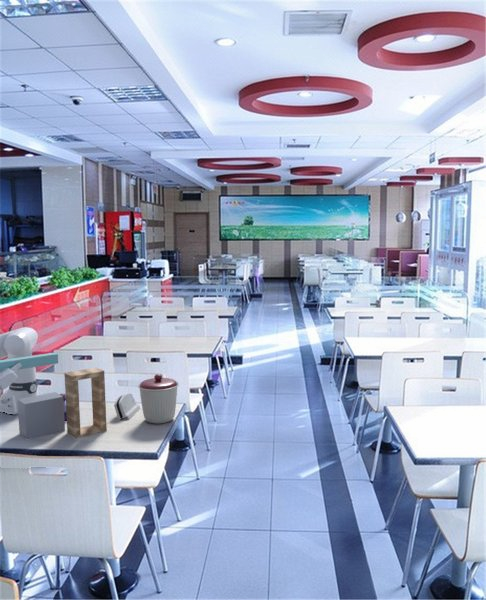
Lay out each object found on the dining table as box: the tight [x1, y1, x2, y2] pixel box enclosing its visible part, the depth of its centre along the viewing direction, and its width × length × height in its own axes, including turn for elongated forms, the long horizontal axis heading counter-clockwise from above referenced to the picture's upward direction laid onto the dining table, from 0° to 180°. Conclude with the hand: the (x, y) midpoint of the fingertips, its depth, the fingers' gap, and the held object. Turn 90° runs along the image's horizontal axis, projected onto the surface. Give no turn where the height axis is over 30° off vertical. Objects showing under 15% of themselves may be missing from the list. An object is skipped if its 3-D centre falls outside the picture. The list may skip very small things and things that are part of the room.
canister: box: [137, 373, 180, 425], centre depth 246 cm, size 18×18×21 cm
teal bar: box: [0, 352, 59, 372], centre depth 227 cm, size 24×4×4 cm, turn 130°
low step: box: [17, 391, 66, 441], centre depth 232 cm, size 16×9×15 cm, turn 130°
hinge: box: [113, 393, 141, 420], centre depth 257 cm, size 17×5×10 cm, turn 172°
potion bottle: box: [59, 393, 67, 422], centre depth 248 cm, size 9×9×12 cm
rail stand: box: [63, 367, 108, 439], centre depth 232 cm, size 14×8×26 cm, turn 130°
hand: (18, 362), depth 224 cm, fingers closed on teal bar, 4 cm apart
